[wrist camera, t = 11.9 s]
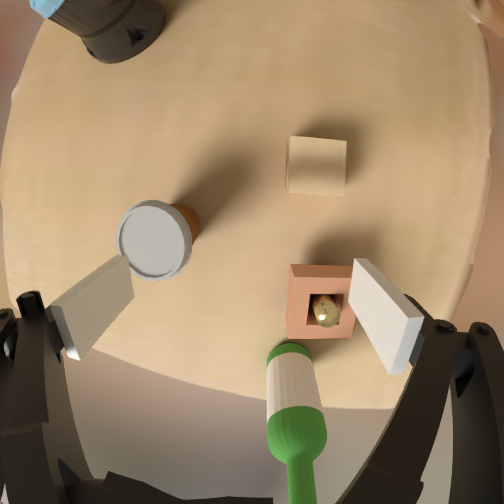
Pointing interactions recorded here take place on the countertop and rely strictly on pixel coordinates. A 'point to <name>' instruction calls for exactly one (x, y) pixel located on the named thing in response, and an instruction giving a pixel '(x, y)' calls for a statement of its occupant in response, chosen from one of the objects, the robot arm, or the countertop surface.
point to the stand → (315, 166)
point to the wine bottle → (295, 418)
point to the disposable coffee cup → (157, 238)
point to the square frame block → (318, 282)
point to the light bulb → (324, 309)
